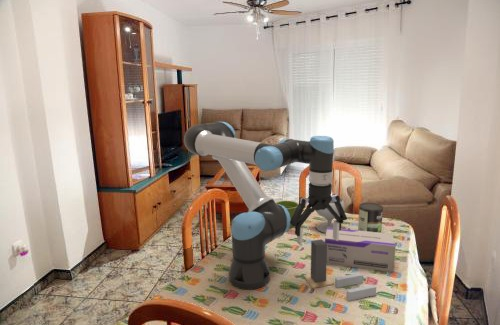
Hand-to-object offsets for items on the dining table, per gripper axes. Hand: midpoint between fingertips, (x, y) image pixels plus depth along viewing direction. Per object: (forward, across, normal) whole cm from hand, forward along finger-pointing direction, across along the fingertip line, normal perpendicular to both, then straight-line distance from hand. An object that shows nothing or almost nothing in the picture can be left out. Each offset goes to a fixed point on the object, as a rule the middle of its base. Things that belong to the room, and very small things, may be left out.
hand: (317, 241), depth 116 cm
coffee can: (+15, +40, +26) cm, 50 cm away
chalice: (+15, +26, +38) cm, 49 cm away
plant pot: (+16, +8, +48) cm, 51 cm away
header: (+14, +10, -10) cm, 20 cm away
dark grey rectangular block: (+14, 0, -1) cm, 14 cm away
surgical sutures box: (+15, +22, +7) cm, 27 cm away
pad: (+15, 0, -1) cm, 15 cm away
